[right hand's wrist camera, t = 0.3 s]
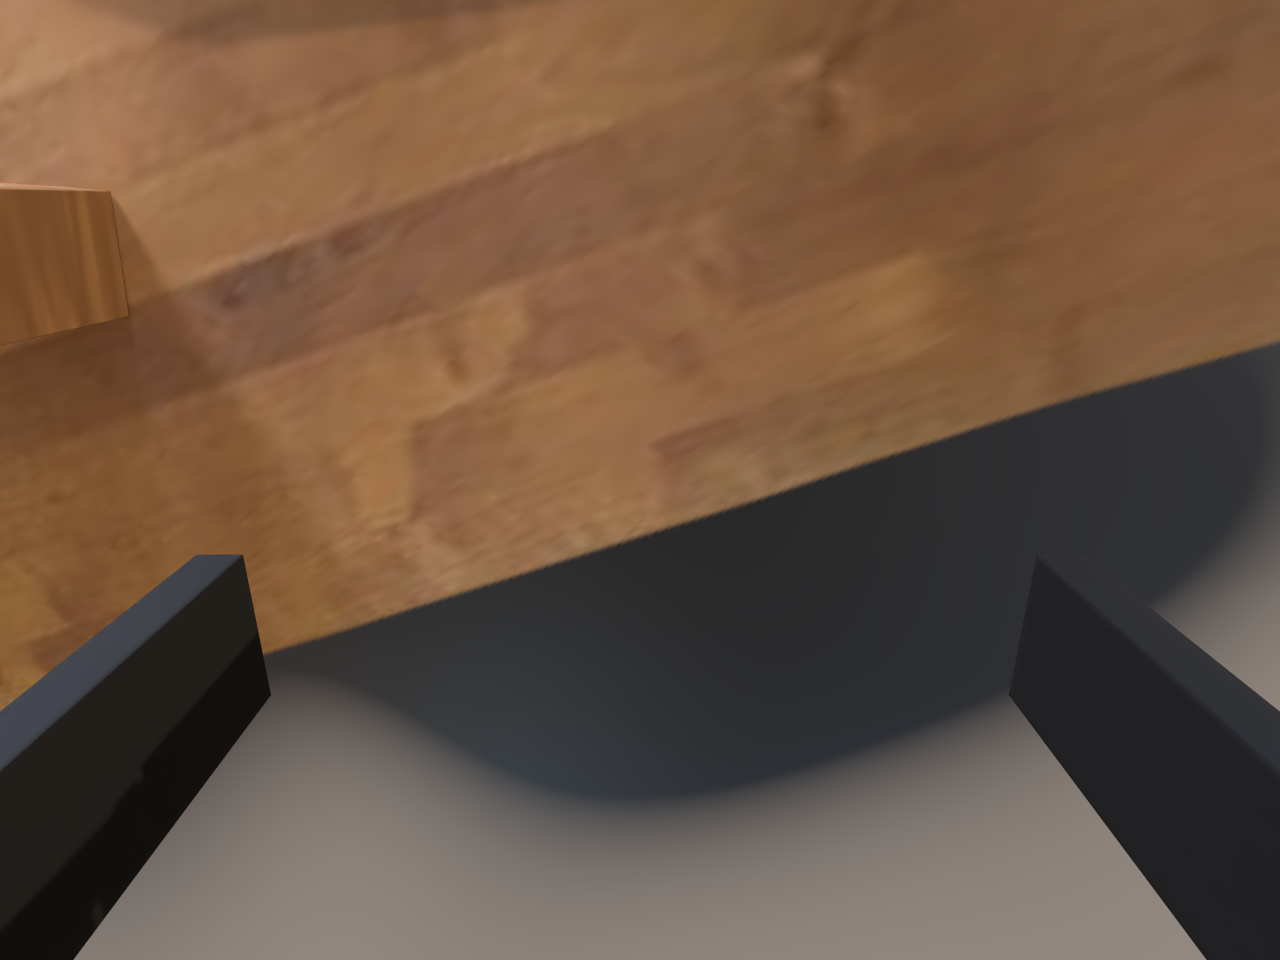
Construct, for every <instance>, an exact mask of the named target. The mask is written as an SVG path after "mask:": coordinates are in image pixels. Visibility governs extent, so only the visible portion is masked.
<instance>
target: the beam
mask: <svg viewBox="0 0 1280 960" xmlns="http://www.w3.org/2000/svg"><path fill="white" fill-rule="evenodd" d="M125 317H129V313H128V306H127V300H126V293H125V287H124V280H123V274H122V267H121V260H120V254H119V247H118V241H117V234H116V228H115V221H114V215H113V208H112V201H111V195H110V191H105V190H92V189H80V188H67V187H55V186H42V185H30V184H17V183H5V182H0V345H4V344H9V343H13V342H18V341H22V340H27V339H31V338H36V337H40V336H44V335H49V334H53V333H58V332H62V331H67V330H71V329H76V328H80V327H85V326H89V325H94V324H98V323H102V322H107V321H111V320H116V319H120V318H125Z"/></svg>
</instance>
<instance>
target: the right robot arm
mask: <svg viewBox="0 0 1280 960" xmlns="http://www.w3.org/2000/svg"><path fill="white" fill-rule="evenodd" d="M270 696H271V693H270V688H269V683H268V678H267V673H266V668H265V663H264V658H263V653H262V648H261V643H260V638H259V633H258V628H257V623H256V618H255V613H254V608H253V603H252V598H251V593H250V588H249V583H248V578H247V573H246V568H245V563H244V558H243V555H196V556H195V557H193V558H192V559H191V560H190V561H188V562H187V563H186V564H184V565H183V566H182V567H181V568H179V569H178V570H177V571H176V572H174V573H173V574H172V575H171V576H169V577H168V578H167V579H166V580H164V581H163V582H162V583H161V584H159V585H158V586H157V587H156V588H154V589H153V590H152V591H151V592H149V593H148V594H147V595H146V596H144V597H143V598H142V599H141V600H139V601H138V602H137V603H136V604H134V605H133V606H132V607H131V608H129V609H128V610H127V611H126V612H124V613H123V614H122V615H121V616H119V617H118V618H117V619H116V620H114V621H113V622H112V623H111V624H109V625H108V626H107V627H106V628H104V629H103V630H102V631H101V632H99V633H98V634H97V635H96V636H94V637H93V638H92V639H91V640H89V641H88V642H87V643H86V644H84V645H83V646H82V647H81V648H79V649H78V650H77V651H76V652H74V653H73V654H72V655H71V656H69V657H68V658H67V659H66V660H64V661H63V662H62V663H61V664H59V665H58V666H57V667H56V668H54V669H53V670H52V671H51V672H49V673H48V674H47V675H46V676H44V677H43V678H42V679H41V680H39V681H38V682H37V683H35V684H34V685H33V686H32V687H30V688H29V689H28V690H27V691H25V692H24V693H23V694H22V695H20V696H19V697H18V698H17V699H15V700H14V701H13V702H12V703H10V704H9V705H8V706H7V707H5V708H4V709H3V710H2V711H0V960H74V958H75V957H76V955H77V954H78V953H79V951H80V950H81V949H82V947H83V946H84V945H85V943H86V942H87V941H88V939H89V938H90V937H91V935H92V934H93V933H94V931H95V930H96V929H97V927H98V926H99V925H100V923H101V922H102V921H103V919H104V918H105V917H106V915H107V914H108V913H109V911H110V910H111V909H112V907H113V906H114V905H115V903H116V902H117V901H118V899H119V898H120V897H121V895H122V894H123V893H124V891H125V890H126V888H127V887H128V886H129V885H130V883H131V882H132V880H133V879H134V878H135V876H136V875H137V874H138V872H139V871H140V870H141V868H142V867H143V866H144V864H145V863H146V862H147V860H148V859H149V858H150V856H151V855H152V854H153V852H154V851H155V850H156V848H157V847H158V846H159V844H160V843H161V842H162V840H163V839H164V838H165V836H166V835H167V833H168V832H169V831H170V830H171V828H172V827H173V826H174V824H175V823H176V821H177V820H178V819H179V817H180V816H181V815H182V813H183V812H184V811H185V809H186V808H187V807H188V805H189V804H190V803H191V801H192V800H193V799H194V797H195V796H196V795H197V793H198V792H199V791H200V789H201V788H202V787H203V785H204V784H205V783H206V781H207V780H208V779H209V777H210V776H211V775H212V773H213V772H214V771H215V769H216V768H217V767H218V765H219V764H220V763H221V761H222V760H223V759H224V757H225V756H226V755H227V753H228V752H229V751H230V749H231V748H232V746H233V745H234V744H235V743H236V741H237V740H238V738H239V737H240V736H241V734H242V733H243V732H244V730H245V729H246V728H247V726H248V725H249V724H250V722H251V721H252V720H253V718H254V717H255V716H256V714H257V713H258V712H259V710H260V709H261V708H262V706H263V705H264V704H265V702H266V701H267V700H268V698H269V697H270ZM1009 696H1010V697H1011V698H1012V700H1013V701H1014V702H1015V704H1016V705H1017V706H1018V708H1019V709H1020V710H1021V712H1022V713H1023V714H1024V716H1025V717H1026V718H1027V720H1028V721H1029V722H1030V724H1031V725H1032V726H1033V728H1034V729H1035V730H1036V732H1037V733H1038V734H1039V736H1040V737H1041V738H1042V740H1043V741H1044V743H1045V744H1046V745H1047V747H1048V748H1049V749H1050V751H1051V752H1052V753H1053V755H1054V756H1055V757H1056V759H1057V760H1058V761H1059V763H1060V764H1061V765H1062V767H1063V768H1064V769H1065V771H1066V772H1067V773H1068V775H1069V776H1070V777H1071V779H1072V780H1073V781H1074V783H1075V784H1076V785H1077V787H1078V788H1079V789H1080V791H1081V792H1082V793H1083V795H1084V796H1085V797H1086V799H1087V800H1088V801H1089V803H1090V804H1091V805H1092V807H1093V808H1094V809H1095V811H1096V812H1097V814H1098V815H1099V816H1100V818H1101V819H1102V820H1103V822H1104V823H1105V824H1106V826H1107V827H1108V828H1109V830H1110V831H1111V832H1112V834H1113V835H1114V836H1115V838H1116V839H1117V840H1118V842H1119V843H1120V844H1121V846H1122V847H1123V848H1124V850H1125V851H1126V852H1127V854H1128V855H1129V856H1130V858H1131V859H1132V860H1133V862H1134V863H1135V864H1136V866H1137V867H1138V868H1139V870H1140V871H1141V872H1142V874H1143V875H1144V876H1145V878H1146V879H1147V880H1148V882H1149V883H1150V884H1151V886H1152V887H1153V889H1154V890H1155V891H1156V893H1157V894H1158V895H1159V897H1160V898H1161V899H1162V900H1163V902H1164V903H1165V905H1166V906H1167V907H1168V909H1169V910H1170V911H1171V913H1172V914H1173V915H1174V917H1175V918H1176V919H1177V921H1178V922H1179V923H1180V925H1181V926H1182V927H1183V929H1184V930H1185V931H1186V933H1187V934H1188V935H1189V937H1190V938H1191V939H1192V941H1193V942H1194V943H1195V945H1196V946H1197V947H1198V949H1199V950H1200V951H1201V953H1202V954H1203V955H1204V957H1205V958H1206V960H1280V711H1278V710H1277V709H1276V708H1275V707H1273V706H1272V705H1271V704H1270V703H1268V702H1267V701H1266V700H1265V699H1263V698H1262V697H1261V696H1259V695H1258V694H1257V693H1256V692H1254V691H1253V690H1252V689H1251V688H1249V687H1248V686H1247V685H1246V684H1244V683H1243V682H1242V681H1241V680H1239V679H1238V678H1237V677H1236V676H1234V675H1233V674H1232V673H1231V672H1229V671H1228V670H1227V669H1226V668H1224V667H1223V666H1222V665H1221V664H1219V663H1218V662H1217V661H1216V660H1214V659H1213V658H1212V657H1211V656H1209V655H1208V654H1207V653H1206V652H1204V651H1203V650H1202V649H1201V648H1199V647H1198V646H1197V645H1196V644H1194V643H1193V642H1192V641H1191V640H1189V639H1188V638H1187V637H1186V636H1184V635H1183V634H1182V633H1181V632H1179V631H1178V630H1177V629H1176V628H1174V627H1173V626H1172V625H1171V624H1169V623H1168V622H1167V621H1166V620H1164V619H1163V618H1162V617H1161V616H1159V615H1158V614H1157V613H1156V612H1154V611H1153V610H1152V609H1151V608H1149V607H1148V606H1147V605H1145V604H1144V603H1143V602H1142V601H1141V600H1139V599H1138V598H1137V597H1136V596H1134V595H1133V594H1132V593H1131V592H1129V591H1128V590H1127V589H1126V588H1124V587H1123V586H1122V585H1121V584H1119V583H1118V582H1117V581H1116V580H1114V579H1113V578H1112V577H1111V576H1109V575H1108V574H1107V573H1106V572H1104V571H1103V570H1102V569H1100V568H1099V567H1098V566H1097V565H1096V564H1094V563H1093V562H1092V561H1090V560H1089V559H1088V558H1087V557H1085V556H1084V555H1037V558H1036V563H1035V568H1034V573H1033V578H1032V583H1031V588H1030V593H1029V598H1028V603H1027V608H1026V613H1025V618H1024V623H1023V628H1022V633H1021V638H1020V643H1019V648H1018V653H1017V658H1016V663H1015V668H1014V673H1013V678H1012V683H1011V688H1010V693H1009Z"/></svg>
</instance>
